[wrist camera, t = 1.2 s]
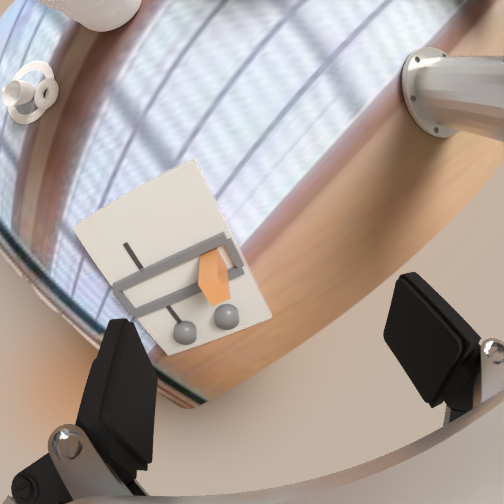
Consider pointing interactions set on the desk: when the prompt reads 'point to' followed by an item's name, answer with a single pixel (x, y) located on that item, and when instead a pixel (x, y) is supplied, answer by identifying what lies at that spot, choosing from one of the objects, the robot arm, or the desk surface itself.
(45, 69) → the white ring with post
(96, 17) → the water bottle
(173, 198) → the console
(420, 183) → the desk surface
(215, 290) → the block
